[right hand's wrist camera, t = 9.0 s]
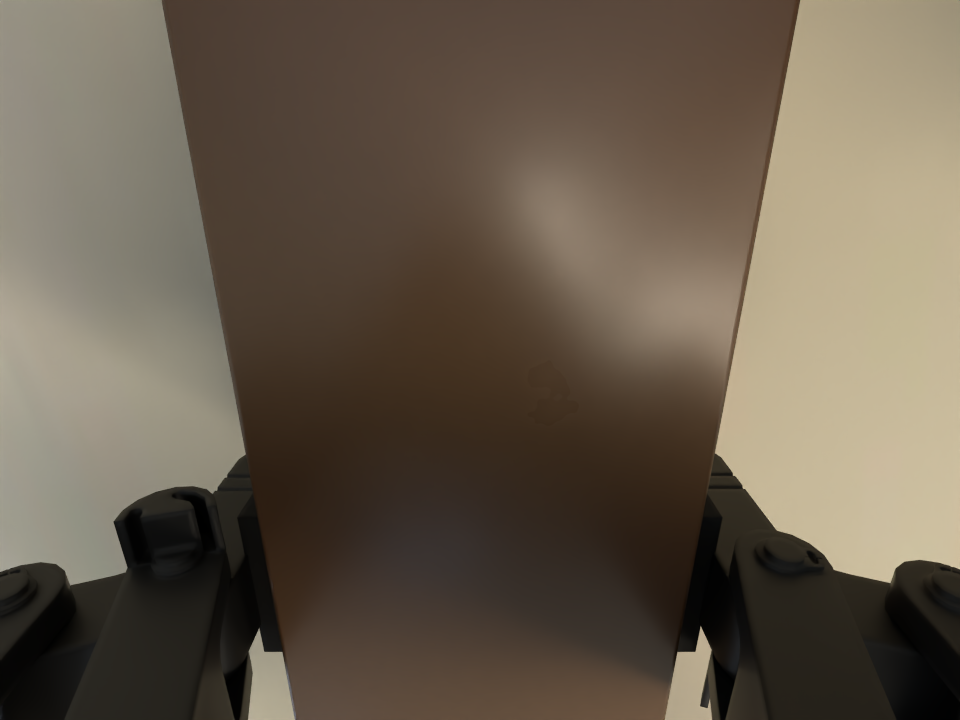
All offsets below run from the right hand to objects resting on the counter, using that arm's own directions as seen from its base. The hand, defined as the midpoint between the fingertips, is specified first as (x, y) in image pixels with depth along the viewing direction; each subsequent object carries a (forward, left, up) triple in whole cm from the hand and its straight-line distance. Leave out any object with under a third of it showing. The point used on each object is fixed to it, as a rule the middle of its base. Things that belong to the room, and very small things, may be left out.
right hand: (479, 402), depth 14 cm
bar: (+13, -15, -1) cm, 20 cm away
